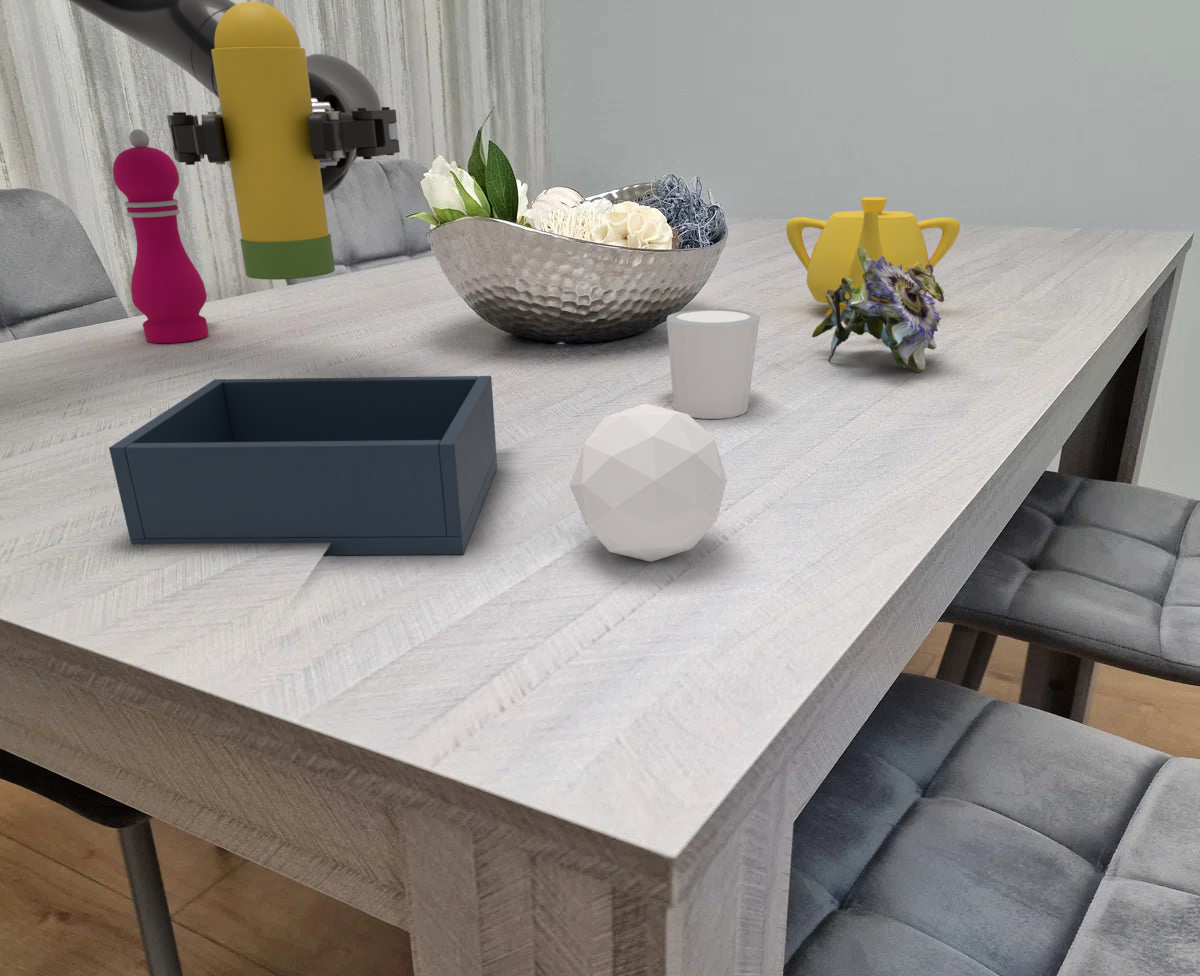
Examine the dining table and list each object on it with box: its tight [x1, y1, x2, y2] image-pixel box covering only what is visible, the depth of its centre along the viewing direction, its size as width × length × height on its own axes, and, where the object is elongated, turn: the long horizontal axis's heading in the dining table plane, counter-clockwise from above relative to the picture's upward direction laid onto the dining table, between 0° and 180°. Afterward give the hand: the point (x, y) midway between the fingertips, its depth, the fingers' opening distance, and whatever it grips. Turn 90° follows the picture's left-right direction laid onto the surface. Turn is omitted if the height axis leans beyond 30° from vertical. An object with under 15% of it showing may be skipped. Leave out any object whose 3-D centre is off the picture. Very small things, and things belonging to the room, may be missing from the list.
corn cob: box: [211, 0, 336, 281], centre depth 57 cm, size 5×5×14 cm
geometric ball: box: [569, 403, 728, 563], centre depth 53 cm, size 8×8×8 cm
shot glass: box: [666, 308, 760, 420], centre depth 78 cm, size 7×7×7 cm
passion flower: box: [811, 247, 945, 373], centre depth 90 cm, size 11×11×12 cm
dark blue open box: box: [108, 375, 498, 556], centre depth 60 cm, size 18×15×6 cm
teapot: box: [785, 196, 961, 318], centre depth 112 cm, size 14×14×12 cm
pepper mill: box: [112, 128, 209, 344], centre depth 105 cm, size 7×7×20 cm
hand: (264, 138), depth 55 cm, fingers closed on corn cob, 4 cm apart
